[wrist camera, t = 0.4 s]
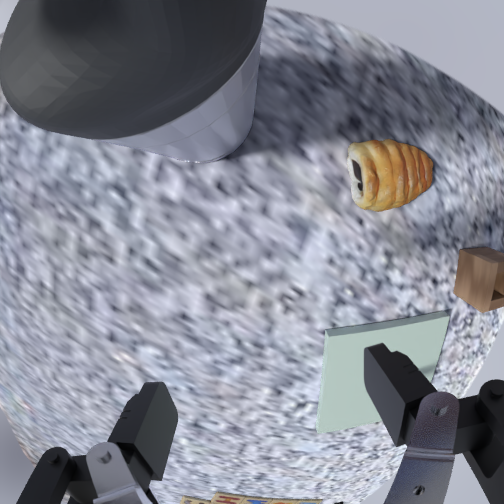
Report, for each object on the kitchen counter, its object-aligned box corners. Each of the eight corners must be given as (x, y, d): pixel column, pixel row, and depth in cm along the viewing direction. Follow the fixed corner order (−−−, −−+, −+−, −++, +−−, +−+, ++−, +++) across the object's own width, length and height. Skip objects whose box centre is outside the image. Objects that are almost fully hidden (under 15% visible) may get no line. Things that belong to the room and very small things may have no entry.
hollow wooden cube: (459, 249, 27) (492, 263, 21) (487, 246, 27) (518, 259, 21) (453, 293, 29) (482, 312, 23) (480, 287, 29) (508, 304, 23)
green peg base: (325, 329, 29) (350, 382, 20) (443, 310, 29) (486, 345, 20) (315, 425, 33) (328, 476, 24) (416, 403, 33) (441, 442, 24)
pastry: (419, 137, 24) (439, 134, 21) (427, 200, 26) (448, 204, 22) (340, 144, 25) (354, 140, 21) (351, 214, 26) (366, 220, 23)
